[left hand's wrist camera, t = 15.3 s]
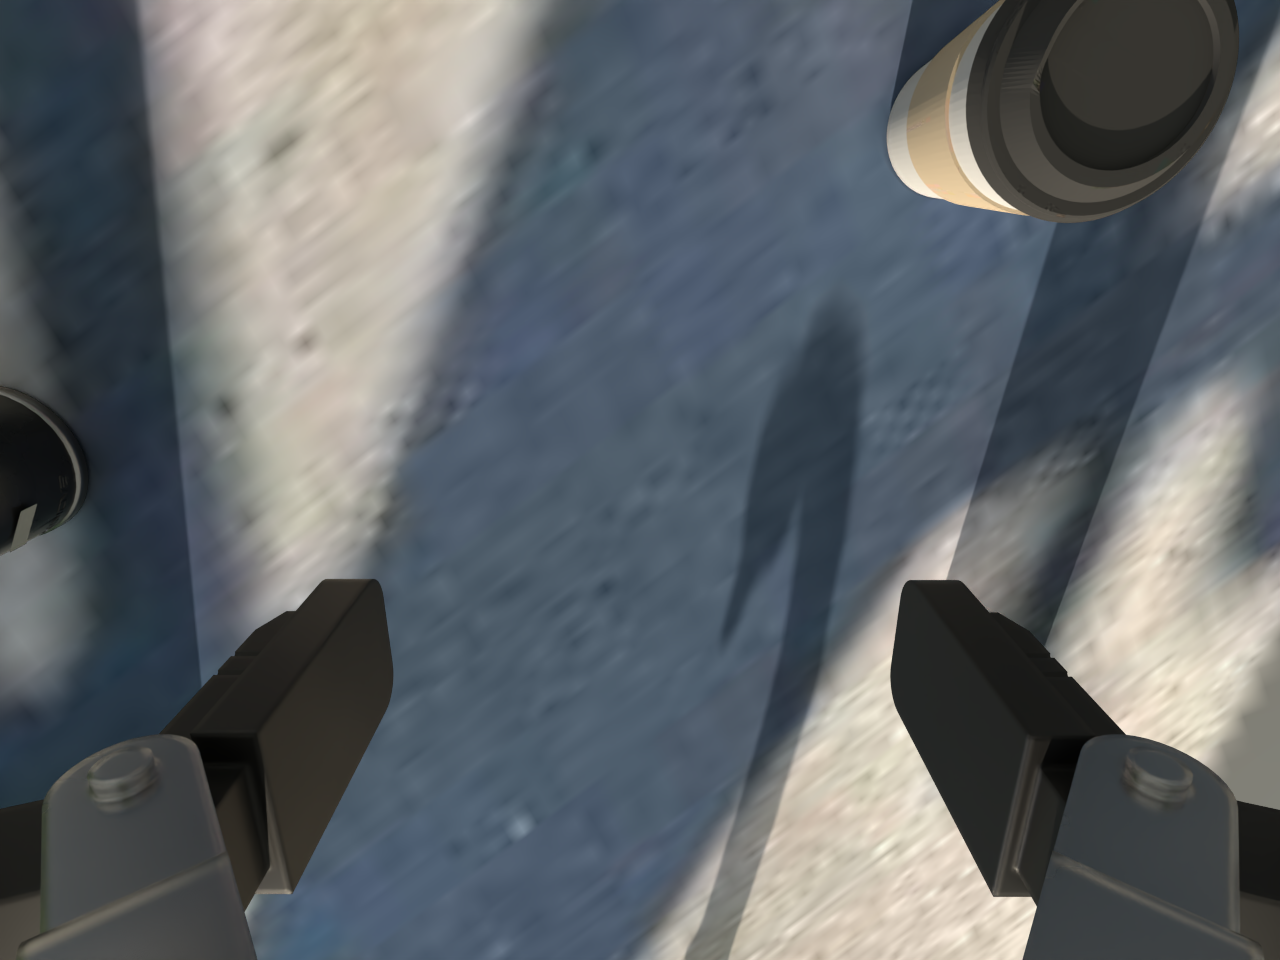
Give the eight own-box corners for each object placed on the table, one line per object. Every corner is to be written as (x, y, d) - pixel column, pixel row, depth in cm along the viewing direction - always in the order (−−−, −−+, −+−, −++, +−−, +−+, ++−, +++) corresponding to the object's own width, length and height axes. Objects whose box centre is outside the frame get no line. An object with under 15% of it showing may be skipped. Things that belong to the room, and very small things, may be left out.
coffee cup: (1077, 86, 37) (1346, 7, 23) (970, 251, 40) (1152, 271, 26) (931, -11, 36) (1123, -158, 21) (831, 167, 38) (942, 140, 24)
